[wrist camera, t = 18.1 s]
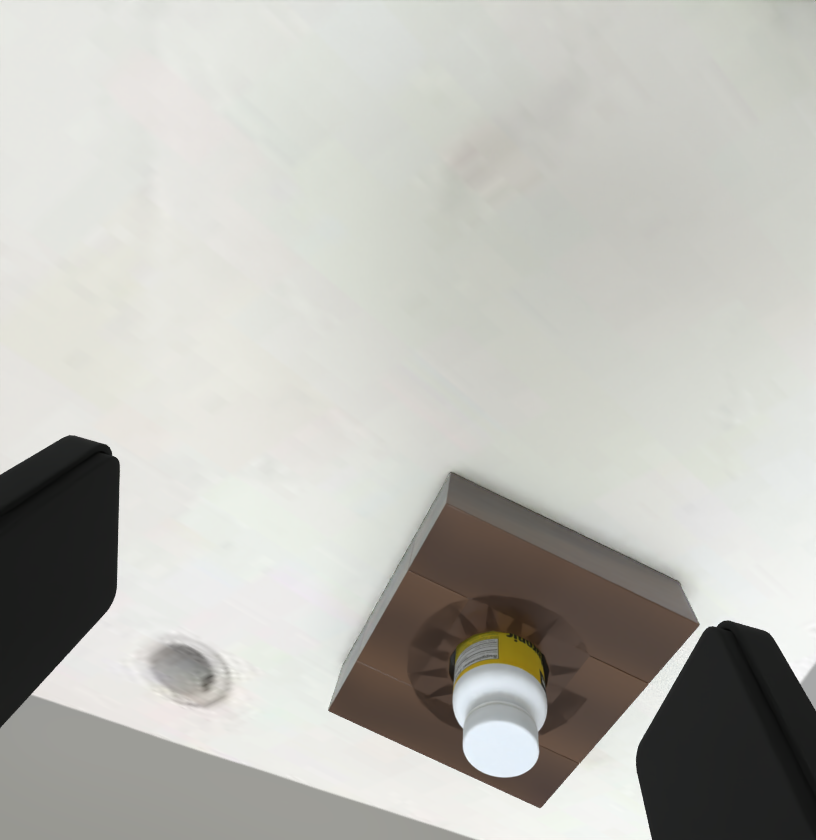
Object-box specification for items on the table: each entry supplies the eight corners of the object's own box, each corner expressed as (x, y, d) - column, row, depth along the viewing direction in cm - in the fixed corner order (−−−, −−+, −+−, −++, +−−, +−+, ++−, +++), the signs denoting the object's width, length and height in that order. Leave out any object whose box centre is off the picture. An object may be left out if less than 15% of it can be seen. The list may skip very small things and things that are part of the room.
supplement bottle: (552, 640, 40) (570, 773, 30) (481, 666, 41) (479, 799, 32) (515, 580, 38) (522, 699, 29) (443, 608, 40) (429, 730, 31)
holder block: (450, 471, 36) (445, 503, 32) (679, 581, 37) (700, 624, 33) (341, 666, 43) (327, 711, 39) (536, 756, 43) (540, 809, 40)
